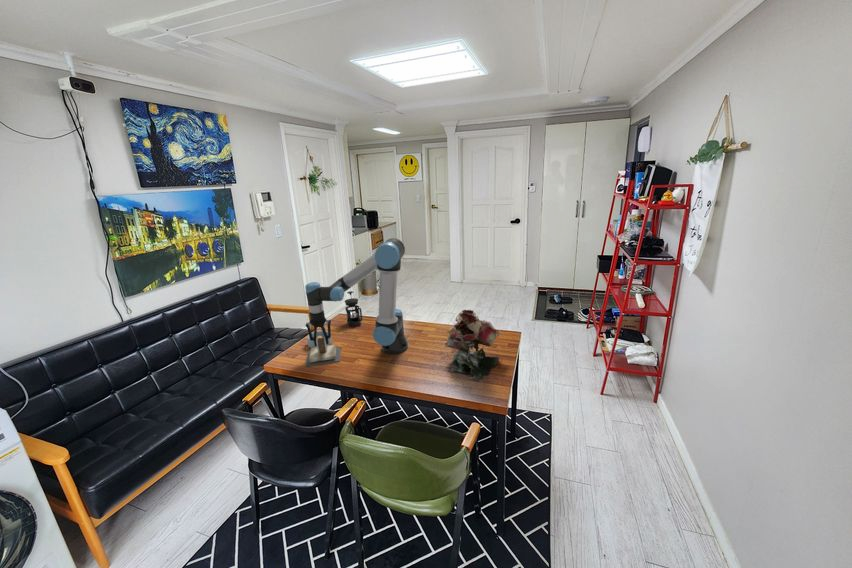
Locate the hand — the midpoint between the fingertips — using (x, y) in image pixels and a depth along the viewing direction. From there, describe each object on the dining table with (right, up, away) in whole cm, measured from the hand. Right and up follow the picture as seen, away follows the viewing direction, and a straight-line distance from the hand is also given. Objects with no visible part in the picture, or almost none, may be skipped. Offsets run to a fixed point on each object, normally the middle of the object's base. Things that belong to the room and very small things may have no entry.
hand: (322, 350), depth 197 cm
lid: (0, -3, +1) cm, 3 cm away
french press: (+9, +9, +43) cm, 45 cm away
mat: (0, -4, +1) cm, 4 cm away
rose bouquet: (+80, -5, -13) cm, 81 cm away
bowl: (-6, 0, +17) cm, 18 cm away
